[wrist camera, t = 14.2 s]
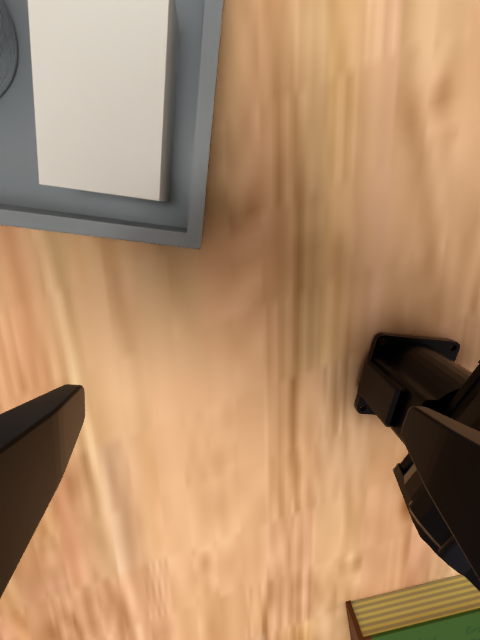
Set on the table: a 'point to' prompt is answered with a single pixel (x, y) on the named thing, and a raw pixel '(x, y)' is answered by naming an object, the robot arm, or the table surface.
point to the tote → (107, 209)
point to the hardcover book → (419, 613)
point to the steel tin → (7, 48)
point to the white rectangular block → (105, 94)
